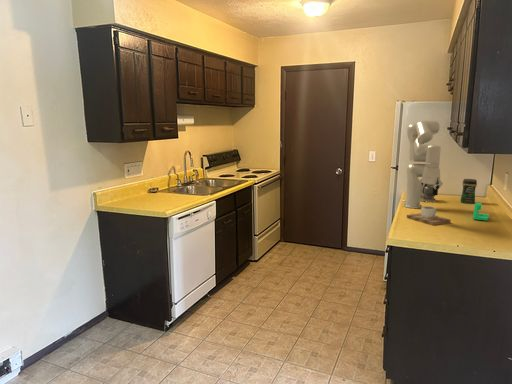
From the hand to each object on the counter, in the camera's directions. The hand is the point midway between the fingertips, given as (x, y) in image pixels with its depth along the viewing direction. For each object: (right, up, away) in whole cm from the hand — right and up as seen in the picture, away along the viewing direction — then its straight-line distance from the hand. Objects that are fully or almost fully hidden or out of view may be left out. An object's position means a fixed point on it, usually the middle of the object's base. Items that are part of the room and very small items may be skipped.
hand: (430, 194), depth 227 cm
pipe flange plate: (0, -16, +3) cm, 17 cm away
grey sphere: (0, -3, 0) cm, 3 cm away
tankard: (+24, -6, +66) cm, 70 cm away
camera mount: (+35, -16, +6) cm, 39 cm away
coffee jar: (+56, -7, +56) cm, 79 cm away
